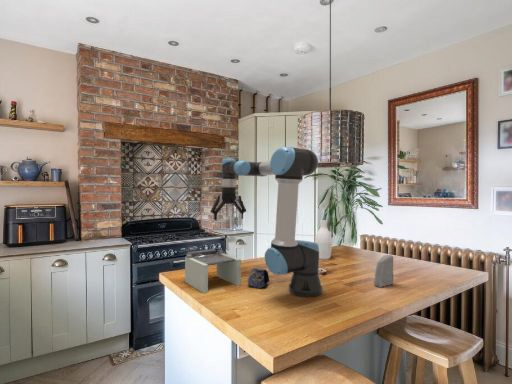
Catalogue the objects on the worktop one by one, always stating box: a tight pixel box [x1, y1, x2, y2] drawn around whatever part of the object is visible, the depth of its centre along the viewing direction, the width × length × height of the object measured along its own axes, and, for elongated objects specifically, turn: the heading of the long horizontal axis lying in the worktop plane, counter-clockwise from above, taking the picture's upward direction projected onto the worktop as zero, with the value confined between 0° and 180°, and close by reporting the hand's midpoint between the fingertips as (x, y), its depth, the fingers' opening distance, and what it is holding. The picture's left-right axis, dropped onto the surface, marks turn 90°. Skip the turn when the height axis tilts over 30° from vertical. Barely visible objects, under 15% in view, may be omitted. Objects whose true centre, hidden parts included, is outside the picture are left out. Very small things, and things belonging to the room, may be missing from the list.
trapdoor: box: [186, 248, 235, 266], centre depth 156 cm, size 21×15×7 cm
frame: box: [184, 249, 242, 294], centre depth 154 cm, size 20×20×14 cm
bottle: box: [314, 219, 333, 260], centre depth 212 cm, size 11×11×25 cm
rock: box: [247, 268, 270, 289], centre depth 153 cm, size 11×10×10 cm
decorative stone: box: [373, 254, 395, 288], centre depth 154 cm, size 11×6×15 cm, turn 124°
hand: (228, 225), depth 172 cm, fingers open, 13 cm apart
